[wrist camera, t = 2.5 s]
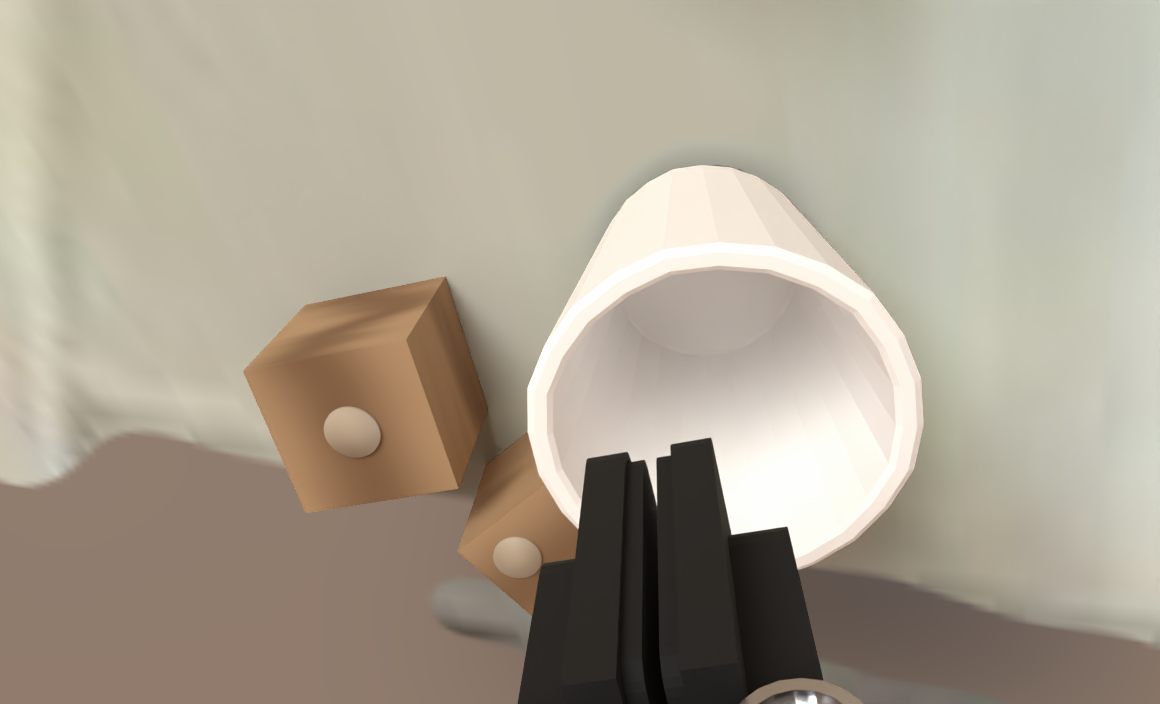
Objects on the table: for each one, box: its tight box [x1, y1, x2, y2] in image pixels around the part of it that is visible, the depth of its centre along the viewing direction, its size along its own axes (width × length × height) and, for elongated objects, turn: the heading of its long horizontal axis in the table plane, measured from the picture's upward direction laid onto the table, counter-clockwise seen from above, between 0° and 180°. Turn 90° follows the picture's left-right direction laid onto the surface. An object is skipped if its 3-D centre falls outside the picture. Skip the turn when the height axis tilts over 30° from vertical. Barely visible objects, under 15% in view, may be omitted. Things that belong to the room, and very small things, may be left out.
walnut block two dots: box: [458, 432, 578, 615], centre depth 36 cm, size 6×6×6 cm
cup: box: [527, 165, 924, 570], centre depth 28 cm, size 10×10×13 cm
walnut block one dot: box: [243, 277, 488, 513], centre depth 34 cm, size 6×6×6 cm
